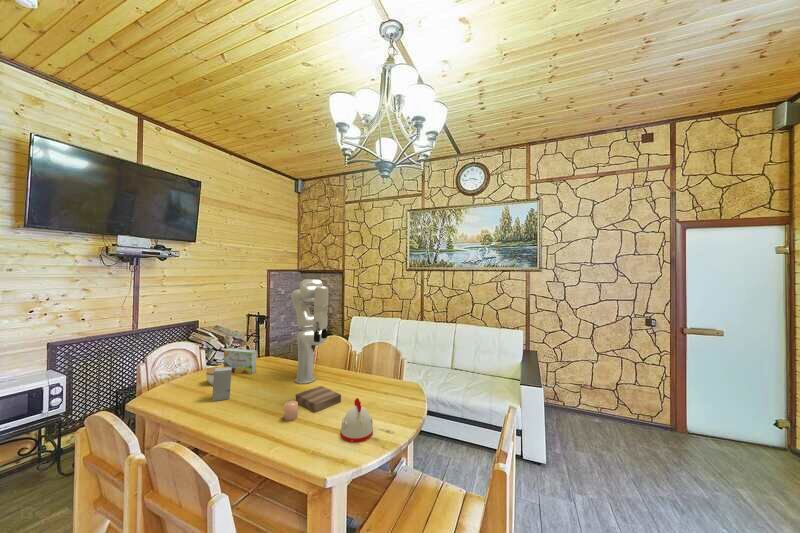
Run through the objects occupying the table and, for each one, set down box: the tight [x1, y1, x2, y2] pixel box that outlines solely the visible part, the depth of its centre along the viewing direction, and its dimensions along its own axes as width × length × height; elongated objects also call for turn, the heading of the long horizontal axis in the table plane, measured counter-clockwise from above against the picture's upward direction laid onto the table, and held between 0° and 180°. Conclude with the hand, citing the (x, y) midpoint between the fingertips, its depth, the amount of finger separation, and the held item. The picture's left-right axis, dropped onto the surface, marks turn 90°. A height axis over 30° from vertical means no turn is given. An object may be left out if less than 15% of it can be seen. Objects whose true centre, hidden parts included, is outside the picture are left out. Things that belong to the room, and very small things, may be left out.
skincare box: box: [211, 366, 232, 402], centre depth 162 cm, size 8×7×16 cm
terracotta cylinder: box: [283, 400, 299, 422], centre depth 142 cm, size 6×6×7 cm
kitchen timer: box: [340, 397, 374, 443], centre depth 131 cm, size 14×14×15 cm
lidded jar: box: [205, 367, 219, 386], centre depth 182 cm, size 11×11×9 cm
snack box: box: [223, 347, 257, 375], centre depth 203 cm, size 21×6×15 cm, turn 81°
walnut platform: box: [294, 385, 342, 413], centre depth 160 cm, size 18×16×4 cm
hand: (320, 340), depth 165 cm, fingers open, 9 cm apart
